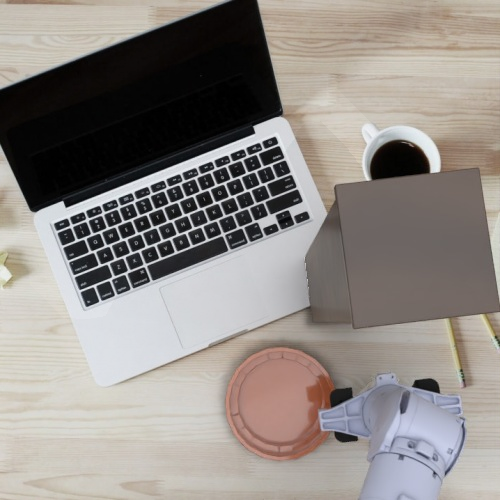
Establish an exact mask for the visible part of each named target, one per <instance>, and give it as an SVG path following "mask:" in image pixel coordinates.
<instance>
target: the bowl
mask: <svg viewBox="0 0 500 500" xmlns="http://www.w3.org/2000/svg"><path fill="white" fill-rule="evenodd" d="M335 389H336V386H335V385H334V383H333V380H332V378H331V376H330V373H329V372H328V371H327V370H326V369H325V368H324V366H322V364H321V363H320V362H319V361H318V360H317V359H316V358H315V357H314V356H312V355H310V354H308V353H306V352H305V351H303V350H301V349H299V348H295V347H291V346H286V345H285V346H284V345H280V346H272V347H265V348H263V349H261V350H258V351H256V352H254V353H252V354H250V355H249V356H248V357H247V358H245V359H244V361H243V362H241V364H239V365H238V366H237V368H236V369H235V371H234V373H233V375H232V376H231V378H230V380H229V382H228V384H227V388H226V394H225V398H224V404H225V414H226V420H227V422H228V425H229V427H230V429H231V431H232V433H233V436H234V437H235V438H236V439H237V440H238V441H239V442H240V444H242V446H243V447H244V448H245V449H246V450H247V451H249V452H252V454H255V455H256V456H258V457H260V458H263V459H268V460H272V461H276V462H285V461H294V460H298V459H301V458H302V457H304V456H307V455H309V454H311V453H313V452H314V451H315V450H316V449H317V448H318V447H320V446H321V445H322V444H323V443H324V442H325V441H326V440H327V438H328V436H329V435H330V432H331V431H321V429H320V423H319V415H318V409H325V408H326V409H330V408H331V405H330V394H331V392H332V391H333V390H335Z"/></svg>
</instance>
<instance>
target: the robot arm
mask: <svg viewBox="0 0 500 500" xmlns="http://www.w3.org/2000/svg"><path fill="white" fill-rule="evenodd" d="M380 377H381V378H380ZM374 378H375V381H376V384H375V386H374V387H372V388H370V389H368V390H366V391H364V392H363V393H361V394H359V393H358V394H359V395H358V394H356V395H354V393H353V392H354V391H353V387H352V386H350V387H341V388H335V390H333V391H332V392H331V394H330V405H331V408H330V409H326V408H325V409H318V415H319V423H320V429H321V431H330V432H333V436H334V439H336V441H337V442H339V443H342V444H343V443H344V444H345V443H353V442H358V441H359V438H363V439H366V440H369V442H368V443H369V444H368V453H367V455H366V462H369V467H368V469H367V472H366V475H365V476H364V477H365V478H364V480H363V482H362V483H363V484H362V486H361V489H360V492H359V494H358V497H357V500H439V496H440V493H441V489H442V486H443V483H444V479H445V478H447V477H448V476H449V475H450V474H451V472H452V471H453V470H454V468H455V467H456V465H457V463H458V462H459V460H460V457H462V455H463V452H464V449H465V445H466V442H467V437H468V429H467V428H466V424H467V418H466V417H463V416H464V410H463V402H462V396H461V395H460V394H457V393H448V394H444V393H441V388H440V384H439V382H438V381H437V380H436V379H434V378H432V377H428V378H419V379H414V380H413V383H412V385H411V386H410V385H405V384H402V383H399V382H397V380H398V378H397V375H396V374H395V373H393V372H391V373H390V372H385V373H377V374H376V375H375V377H374ZM379 378H380V379H379Z"/></svg>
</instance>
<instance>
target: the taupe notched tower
mask: <svg viewBox="0 0 500 500" xmlns="http://www.w3.org/2000/svg"><path fill="white" fill-rule="evenodd" d="M481 177H482V176H481V171H480V167H478V166H477V167H470V168H461V169H453V170H444V171H437V172H436V171H435V172H428V173H427V172H426V173H420V174H412V175H403V176H394V177H386V178H378V179H371V180H362V181H353V182H346V183H345V182H344V183H337V184H335V185H334V186H333V192H334V201H333V203H332V205H331V207H330V208H329V210H328V212H327V214H326V216H325V218H324V220H323V222H322V224H321V225H320V227H319V230H317V233H316V235H315V237H314V238H313V240H312V242H311V244H310V246H309V248H308V250H307V252H306V254H305V256H304V257H305V261H304V264H305V263H306V269H305V272H306V271H307V277H306V280H307V279H308V285H307V288H308V287H309V293H308V300H309V308H310V315H311V322H313V323H333V324H335V323H337V324H351V328H352V330H360V329H367V328H369V329H370V328H376V327H387V326H392V325H402V324H412V323H420V322H428V321H436V320H437V321H438V320H446V319H452V318H460V317H461V318H463V317H471V316H479V315H487V314H496V313H500V296H499V289H498V281H497V276H496V269H495V264H494V263H495V262H494V255H493V250H492V242H491V236H490V230H489V225H488V224H489V223H488V216H487V210H486V209H487V208H486V203H485V197H484V190H483V184H482V178H481ZM309 296H310V297H309ZM310 304H311V305H310Z"/></svg>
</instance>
